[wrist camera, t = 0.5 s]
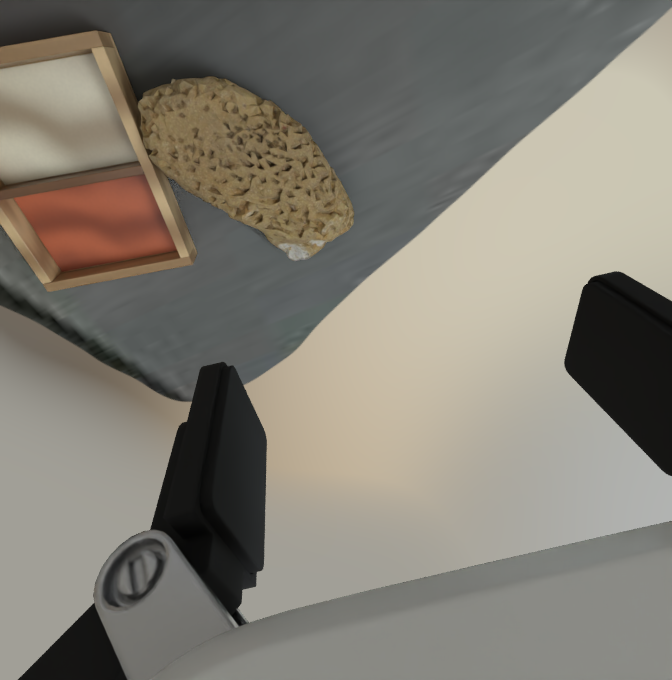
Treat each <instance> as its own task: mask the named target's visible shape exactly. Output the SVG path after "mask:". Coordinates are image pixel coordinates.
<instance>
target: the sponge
mask: <svg viewBox="0 0 672 680" xmlns="http://www.w3.org/2000/svg"><path fill="white" fill-rule="evenodd" d="M138 108H139V110H140V112H141V126H140V129H141V131H142V134H143V142H144V145H145V148H146V149H150V150H152V153H151V154H150V155H149V158H150V159H151V160H152V162H153V163H154V164H155V165H156V166H157V167H158V168H160V169H161V170H162V171H163V172H164V174H165V175H166V176H168V177H169V178H170V179H173V180H175V181H176V182H177V183H178V184H179V185H180V186H181V187H182V188H183V189H185V190H186V191H188V192H190V193H191V194H193V195H195V196H197V197H200V198H202V199H203V201H205V202H209V203H211V204H212V206H215V207H217V208H219V209H222V210H224V211H225V212H227V213H228V215H229V217H230V218H232V219H235V220H237V221H240V222H242V223H244V224H247V225H249V226H252V227H254V228H257V229H259V230H260V231H262V232H263V233H264V234H265V236H266V238H267V239H268V240H269V241H270V242H271V243H272V244H273V245H275V246H276V247H277V248H279V249H282V250H283V251H284V252H286V253H287V256H288V258H290V259H291V260H293V261H298V260H302V259H308V258H310V257H312V256H313V255H314V254H316V253H317V252H319V251H320V250H321V249H322V248H323V247H324V246H325V244H326V242H329V241H332V240H333V239H334V238H336V237H337V236H339V235H341V234H343V233H344V232H346V231H348V230H349V229H350V228H351V226H352V225H353V222H354V219H353V217H354V211H353V207H352V203H351V201H350V199H349V197H348V195H347V193H346V191H345V189H344V187H343V185H342V183H341V181H340V180H339V179H338V177H337V176H336V174H335V171H334V169H333V168H332V167H330V165H329V164H328V162H327V160H326V159H325V157H324V155H323V153H322V152H321V150H320V149H319V147H318V146H317V144H316V143H315V142H314V141H313V140H312V137H311V136H310V134H309V133H308V131H307V130H306V128H305V127H303V126H302V125H301V124H300V123H298V122H297V121H295V120H294V119H293V118H291V117H290V116H289V115H288V114H287V115H286V114H285V113H284V112H283V111H282V110H281V109H280V108H279V107H278V106H277V105H276V104H274V103H273V102H272V101H271V100H269V101H267V100H264V99H263V100H262V99H261V98H260V97H258V96H257V95H255V94H253V93H251V92H249V91H248V90H246V89H244V88H241V87H239V86H238V85H237V84H235V83H232V82H230V81H229V80H227V79H225V78H223V79H218V78H217V77H215V76H207V77H204V78H186V79H179V80H175V79H172V81H171V83H170V84H164V85H161V86H159V87H156V88H153V89H151V90H148V91H146V92H144V93H143V98H142V99H141V100H140V101H139V103H138Z"/></svg>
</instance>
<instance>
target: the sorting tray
mask: <svg viewBox="0 0 672 680" xmlns="http://www.w3.org/2000/svg"><path fill="white" fill-rule="evenodd" d="M140 126H141V112H140V110H139V108H138V101H137V99H136V96H135V94H134V91H133V89H132V86H131V84H130V81H129V79H128V76H127V74H126V71H125V69H124V66H123V63H122V61H121V58H120V56H119V53H118V51H117V48H116V46H115V43H114V41H113V38H112V36H111V34H110V33H107V32H102V31H98V30H94V31H88V32H83V33H77V34H71V35H65V36H60V37H54V38H48V39H42V40H37V41H31V42H25V43H19V44H14V45H8V46H2V47H0V224H1V226H2V227H3V228H4V230H5V231H6V233H7V234H8V236H9V237H10V238H11V240H12V241H13V243H14V244H15V246H16V247H17V248H18V250H19V251H20V253H21V254H22V255H23V257H24V258H25V260H26V261H27V263H28V264H29V265H30V267H31V268H32V270H33V271H34V272H35V274H36V275H37V277H38V278H39V280H40V281H41V282H42V284H43V285H44V287H45V288H46V290H47V291H48V292H50V291H56V290H61V289H66V288H72V287H77V286H82V285H87V284H93V283H98V282H103V281H109V280H114V279H119V278H124V277H130V276H135V275H140V274H146V273H151V272H156V271H161V270H167V269H172V268H177V267H183V266H188V265H193V263H194V260H195V258H196V255H197V251H196V248H195V246H194V243H193V241H192V238H191V236H190V233H189V231H188V228H187V226H186V223H185V221H184V218H183V215H182V213H181V210H180V208H179V205H178V203H177V200H176V198H175V195H174V193H173V190H172V188H171V185H170V183H169V180H168V177H167V176H166V175H165V174H164V172H163V171H162V170H161V169H160V168H158V167H157V166H156V165H155V164H154V163H153V162H152V160H151V159H150V158H149V155H150V154H151V153H152V150H150V149H146V148H145V145H144V142H143V134H142V131H141V129H140Z"/></svg>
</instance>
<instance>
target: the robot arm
mask: <svg viewBox="0 0 672 680" xmlns="http://www.w3.org/2000/svg"><path fill="white" fill-rule="evenodd" d="M564 364H565V368H566V370H567V372H568V373H569V375H570V376H571V377H572V378H573V379H574V380H575V381H576V382H577V383H578V384H579V385H580V386H581V387H582V388H583V389H584V390H585V391H586V392H587V393H588V394H589V395H590V396H591V397H592V398H593V399H594V400H595V402H596V403H597V404H598V405H599V406H600V407H601V408H602V409H603V410H604V411H605V412H606V413H607V414H608V415H609V416H610V417H611V418H612V419H613V420H614V421H615V422H616V423H617V424H618V425H619V426H620V427H621V428H622V429H623V430H624V431H625V432H626V433H627V435H628V436H629V437H631V439H632V440H633V441H634V442H635V443H636V444H637V445H638V446H639V447H640V448H641V449H642V450H643V451H644V452H645V453H646V454H647V455H648V456H649V457H650V458H651V459H652V460H653V461H654V463H656V464H657V466H658V467H659V468H660V469H661V470H662V471H664V472H665V473H666V474H668V475H670V476H672V301H670V300H668V299H667V298H665V297H663V296H662V295H660V294H658V293H656V292H655V291H653V290H651V289H650V288H648V287H646V286H644V285H643V284H641V283H639V282H637V281H636V280H634V279H632V278H631V277H629V276H627V275H625V274H624V273H621V272H611V273H607V274H602V275H598V276H594V277H592V278H591V279H590V280H589V281H588V284H586V285H585V286H584V287H583V290H582V294H581V297H580V302H579V305H578V309H577V313H576V317H575V321H574V325H573V329H572V333H571V337H570V341H569V345H568V349H567V353H566V357H565V362H564ZM266 450H267V440H266V434H265V431H264V428H263V426H262V424H261V422H260V420H259V418H258V416H257V414H256V412H255V410H254V407H253V405H252V403H251V401H250V399H249V397H248V395H247V392H246V390H245V388H244V386H243V384H242V382H241V380H240V378H239V375H238V373H237V371H236V369H235V367H234V366H227V365H226V363H225V362H220V363H216V364H212V365H207V366H203V367H202V368H201V369H200V372H199V376H198V380H197V384H196V388H195V392H194V396H193V400H192V404H191V408H190V412H189V417H188V420H187V422H184V423H182V424H181V425H180V426H179V428H178V430H177V434H176V437H175V441H174V445H173V448H172V452H171V456H170V459H169V463H168V467H167V470H166V474H165V478H164V481H163V485H162V489H161V492H160V496H159V500H158V503H157V507H156V511H155V515H154V518H153V522H152V525H151V529H150V530H149V531H143V532H141V533H138V534H136V535H134V536H132V537H130V538H129V539H128V540H126V541H125V542H123V543H122V544H121V545H120V546H119V547H118V548H117V549H116V550H115V551H114V552H113V553H112V554H111V555H110V556H109V558H108V559H107V560H106V562H105V563H104V565H103V567H102V568H101V570H100V572H99V575H98V577H97V580H96V582H95V588H94V594H93V597H94V602H95V603H94V604H93V605H92V606H91V607H90V608H89V609H88V610H87V611H86V612H85V613H84V614H83V615H82V616H81V617H80V618H79V619H78V620H77V621H76V622H75V623H74V624H73V625H72V626H71V627H70V628H69V629H68V630H67V631H66V632H65V633H64V634H63V635H62V636H61V637H60V638H59V639H58V640H57V641H56V642H55V643H54V644H53V645H52V646H51V647H50V648H49V649H48V650H47V651H46V652H45V653H44V654H43V655H42V656H41V657H40V658H39V659H38V660H37V661H36V662H35V663H34V664H33V665H32V666H31V667H30V668H29V669H28V670H27V671H26V672H25V673H24V674H23V675H22V676H21V677H20V678H19V679H18V680H672V521H669V522H665V523H660V524H656V525H651V526H647V527H642V528H638V529H633V530H629V531H625V532H620V533H616V534H612V535H607V536H603V537H598V538H594V539H589V540H585V541H581V542H576V543H572V544H568V545H563V546H559V547H555V548H550V549H545V550H541V551H537V552H532V553H528V554H524V555H519V556H515V557H511V558H506V559H502V560H497V561H493V562H489V563H484V564H480V565H476V566H471V567H467V568H463V569H459V570H454V571H450V572H446V573H441V574H437V575H433V576H429V577H424V578H420V579H416V580H411V581H407V582H403V583H399V584H394V585H390V586H386V587H381V588H377V589H373V590H369V591H365V592H360V593H357V594H353V595H349V596H344V597H341V598H337V599H333V600H329V601H325V602H321V603H317V604H313V605H309V606H305V607H301V608H297V609H293V610H289V611H285V612H282V613H279V614H276V615H273V616H270V617H266V618H263V619H260V620H256V621H254V622H250V623H249V622H248V621H247V620H246V618H245V617H244V616H243V614H242V613H241V612H240V610H239V609H238V607H239V606H240V604H241V602H242V590H243V589H247V588H252V587H256V574H257V572H258V571H261V570H262V569H263V566H264V538H265V534H264V533H265V495H266Z"/></svg>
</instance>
